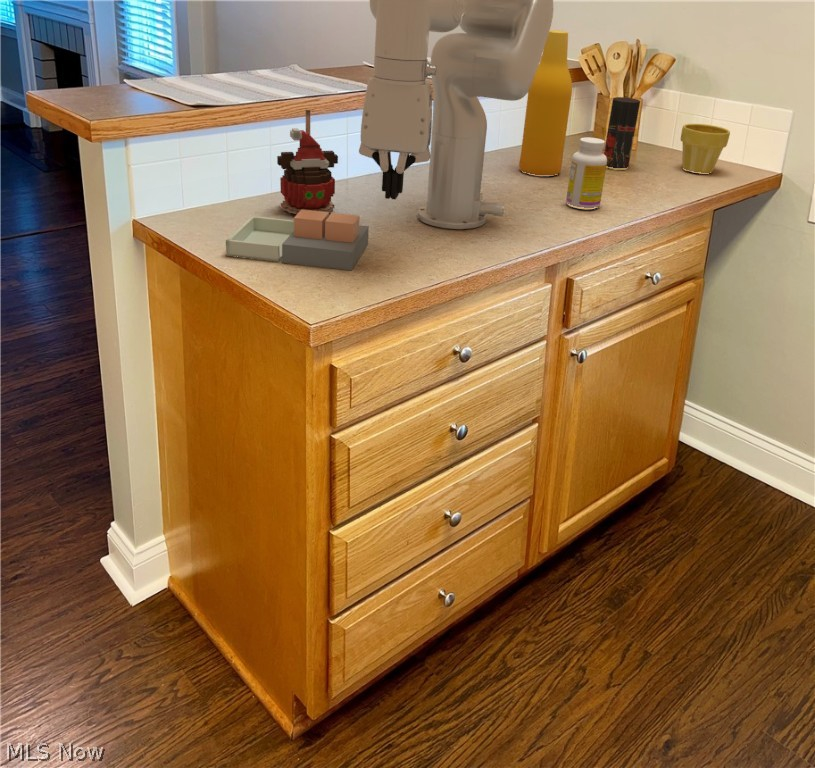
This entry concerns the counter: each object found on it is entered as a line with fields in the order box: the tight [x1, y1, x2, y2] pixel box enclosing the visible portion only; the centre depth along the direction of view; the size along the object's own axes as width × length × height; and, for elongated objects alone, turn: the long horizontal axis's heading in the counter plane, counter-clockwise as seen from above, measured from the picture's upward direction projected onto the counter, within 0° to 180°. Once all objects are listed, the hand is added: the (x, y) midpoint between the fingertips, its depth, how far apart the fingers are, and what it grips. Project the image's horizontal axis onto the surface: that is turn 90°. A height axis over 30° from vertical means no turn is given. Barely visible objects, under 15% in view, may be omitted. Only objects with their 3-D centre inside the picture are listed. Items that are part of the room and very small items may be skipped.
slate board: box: [281, 224, 370, 272], centre depth 139 cm, size 11×13×3 cm
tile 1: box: [293, 209, 330, 239], centre depth 138 cm, size 4×4×3 cm
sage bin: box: [225, 215, 294, 263], centre depth 140 cm, size 8×13×3 cm, turn 171°
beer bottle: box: [518, 29, 573, 175], centre depth 185 cm, size 9×9×29 cm
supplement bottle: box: [565, 136, 607, 208], centre depth 168 cm, size 7×7×13 cm
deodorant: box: [603, 96, 641, 168], centre depth 196 cm, size 6×6×15 cm
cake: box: [276, 108, 339, 215], centre depth 154 cm, size 11×9×18 cm
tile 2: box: [325, 212, 361, 243], centre depth 138 cm, size 4×4×3 cm
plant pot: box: [680, 123, 731, 173], centre depth 199 cm, size 10×10×10 cm
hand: (391, 196), depth 133 cm, fingers closed
